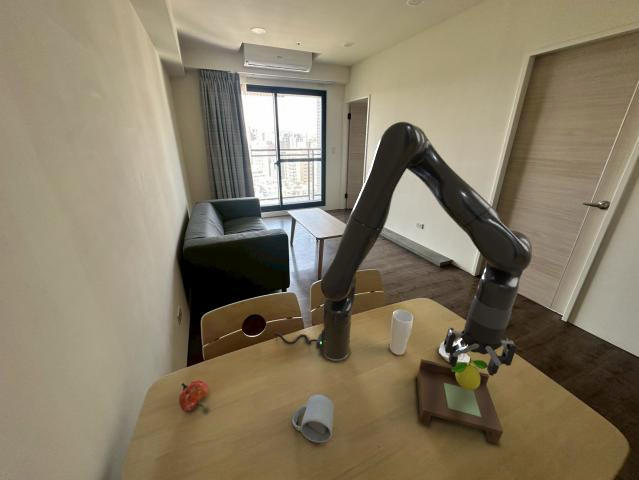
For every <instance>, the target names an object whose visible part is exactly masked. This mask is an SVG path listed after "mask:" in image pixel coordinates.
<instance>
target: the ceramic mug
mask: <svg viewBox="0 0 639 480" xmlns="http://www.w3.org/2000/svg"><path fill="white" fill-rule="evenodd" d="M302 413H304V415H303V418H302V422H301V425H297V421H298V419H299V417H300V415H301V414H302ZM334 413H335V405H334V402H333V399H332V398H330V396H328V395H326V394H324V393H315V394H313V395H311V396H310V397H309V399H308V401H307V403H306V405H303V406H301V407H299V408H297V410H296V411H295V412H294V414H293V416H292V420H291V421H292V426H293V427H294V428H295V430H296V431H298V432H300V433H301V434H302V435H303V436H304V437H305V439H307V440H309V441H310V442H313V443H318V444H319V443H320V444H321V443H325V442H328V441H329V440H330V439H331V437H332V435H333V425H334V415H335V414H334Z"/></svg>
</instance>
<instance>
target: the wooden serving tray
mask: <svg viewBox="0 0 639 480" xmlns="http://www.w3.org/2000/svg"><path fill="white" fill-rule="evenodd" d="M455 373H456V372H452V366H451V364H444V363H440V362H435V361H432V360H428V359H423V358H422V359H420V362H419V367H418V372H417V376H416V384H417V396H418V398H417V399H418V408H419V409H418V410H419V421H420V423H421V424H424V425H429V424H430V420H431V416H432V417H437V418H440V419H444V420H447V421H450V422H453V423H454V422H455V423H459V424H462V425H465V426H468V427H472V428H475V429H479V430H483V431H485V435H486V439H487V442H488V443H492V444H494V445H498V444H499V442H500V441H501V438H502V435H503V433H504V429H503V427H502V425H501V421H500V418H499V416H498V413H497V410H496V408H495V405H494V402H493V399H492V396H491V394H490V391H489V388H488V385H487V384H488V381H489V378H490V375H489V373H485V372H481V371H479V374H480V385H479V386H478V388H477V389H475V390H467V389H464V388H463V387H461V386H460V385H459V384H458V382H457V380H456V376H455Z"/></svg>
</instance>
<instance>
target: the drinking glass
mask: <svg viewBox="0 0 639 480" xmlns="http://www.w3.org/2000/svg"><path fill="white" fill-rule="evenodd" d="M413 325H414V315H413V314H412V313H411V312H409V310H405V309H396V310H394V311H393V313H392V316H391V321H390V338H389V339H390V342H389V350H390V351H391V352H392V353H393V354H395V355H396V356H397V355H398V356H401V355H404V354H405V353H406V349H407V345H408V342H409V338H410V335H411V332H412V328H413Z"/></svg>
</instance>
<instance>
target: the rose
mask: <svg viewBox="0 0 639 480" xmlns="http://www.w3.org/2000/svg"><path fill="white" fill-rule="evenodd" d="M456 343H457V342H456V341H454V343H453V345H454V344H456ZM438 353H439V354H440V356H441V357H442V358H443V359H444V360H445V361H446V362H447V363H449V364H450V362H449V355H450V353H446V352H445V347H444V341H443V342H441V343H440V346H439V349H438ZM470 358H471V357H470V356H469V355H468V354H467V353H465V354H463V353H462V354H460V355H459V356H458V360H457V363H459V362H470Z"/></svg>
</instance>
